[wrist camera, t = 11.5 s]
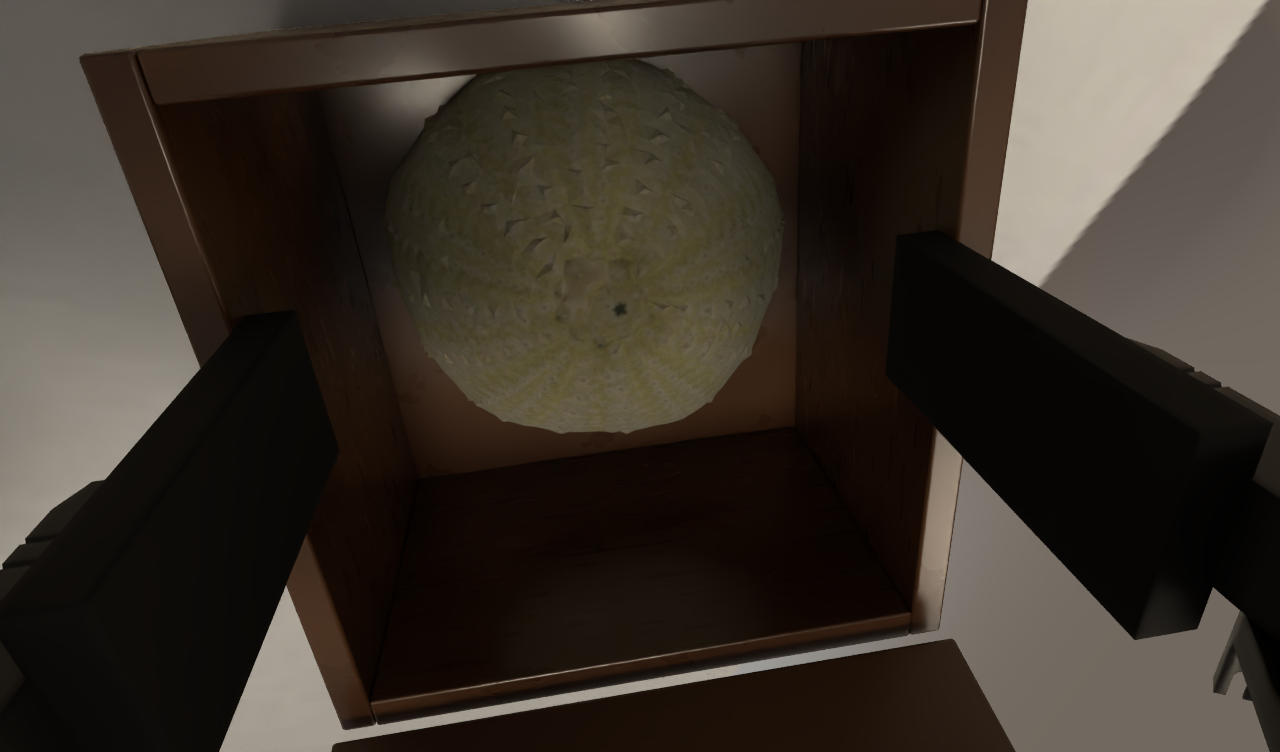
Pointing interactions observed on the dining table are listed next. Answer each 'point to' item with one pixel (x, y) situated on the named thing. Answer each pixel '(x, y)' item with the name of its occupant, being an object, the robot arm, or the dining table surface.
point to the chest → (593, 461)
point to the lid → (753, 713)
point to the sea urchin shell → (584, 245)
